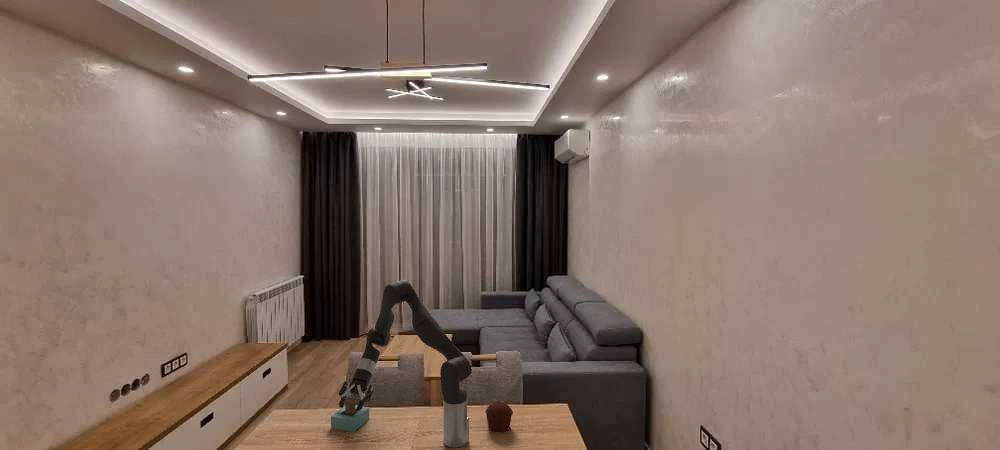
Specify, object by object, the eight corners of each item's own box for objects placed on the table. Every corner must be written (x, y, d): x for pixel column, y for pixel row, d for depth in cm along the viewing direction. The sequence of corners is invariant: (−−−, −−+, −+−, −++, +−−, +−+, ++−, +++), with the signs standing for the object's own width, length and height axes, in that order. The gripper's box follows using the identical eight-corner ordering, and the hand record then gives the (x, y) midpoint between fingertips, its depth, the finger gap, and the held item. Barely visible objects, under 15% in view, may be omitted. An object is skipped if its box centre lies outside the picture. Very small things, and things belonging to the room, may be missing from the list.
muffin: (479, 425, 184) (480, 402, 184) (500, 417, 191) (500, 394, 190) (497, 438, 175) (497, 414, 174) (518, 428, 182) (518, 405, 181)
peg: (354, 419, 189) (354, 397, 188) (356, 424, 185) (355, 401, 184) (345, 422, 187) (344, 399, 186) (346, 426, 183) (345, 403, 182)
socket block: (347, 414, 193) (347, 403, 192) (369, 418, 189) (369, 407, 189) (331, 427, 182) (330, 416, 182) (354, 432, 179) (353, 420, 179)
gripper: (346, 366, 194) (330, 403, 184) (375, 369, 190) (360, 408, 180) (354, 372, 199) (339, 409, 189) (382, 376, 195) (367, 414, 185)
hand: (349, 408), depth 185 cm, fingers open, 8 cm apart
